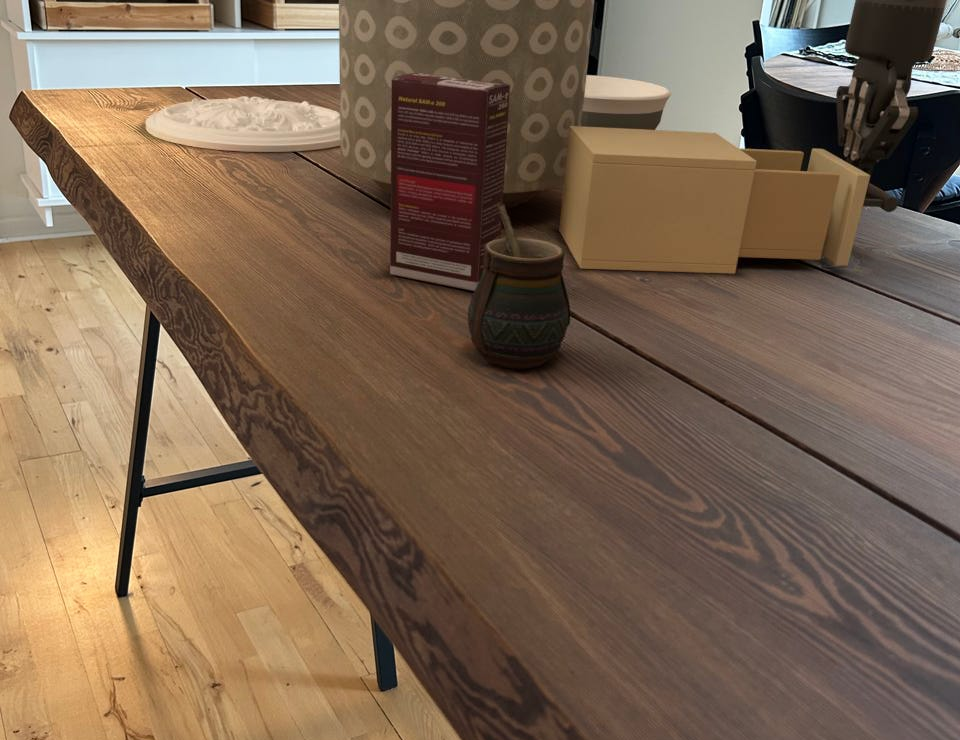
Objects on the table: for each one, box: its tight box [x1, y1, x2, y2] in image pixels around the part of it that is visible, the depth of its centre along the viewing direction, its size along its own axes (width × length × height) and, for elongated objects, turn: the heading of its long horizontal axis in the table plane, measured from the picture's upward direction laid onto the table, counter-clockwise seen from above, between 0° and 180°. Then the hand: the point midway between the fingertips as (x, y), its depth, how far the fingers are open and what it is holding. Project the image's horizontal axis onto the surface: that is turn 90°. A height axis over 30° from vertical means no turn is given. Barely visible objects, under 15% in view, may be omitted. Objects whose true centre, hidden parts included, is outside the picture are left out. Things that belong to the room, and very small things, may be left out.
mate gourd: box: [467, 204, 571, 370], centre depth 72 cm, size 7×8×10 cm
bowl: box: [581, 74, 672, 130], centre depth 139 cm, size 19×19×8 cm
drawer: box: [737, 147, 899, 267], centre depth 99 cm, size 18×11×8 cm, turn 95°
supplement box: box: [389, 73, 510, 292], centre depth 85 cm, size 9×5×16 cm, turn 65°
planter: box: [338, 0, 595, 210], centre depth 105 cm, size 25×25×24 cm
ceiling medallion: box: [145, 95, 340, 153], centre depth 138 cm, size 28×28×3 cm
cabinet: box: [558, 126, 757, 275], centre depth 97 cm, size 15×13×10 cm
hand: (850, 199), depth 99 cm, fingers closed
